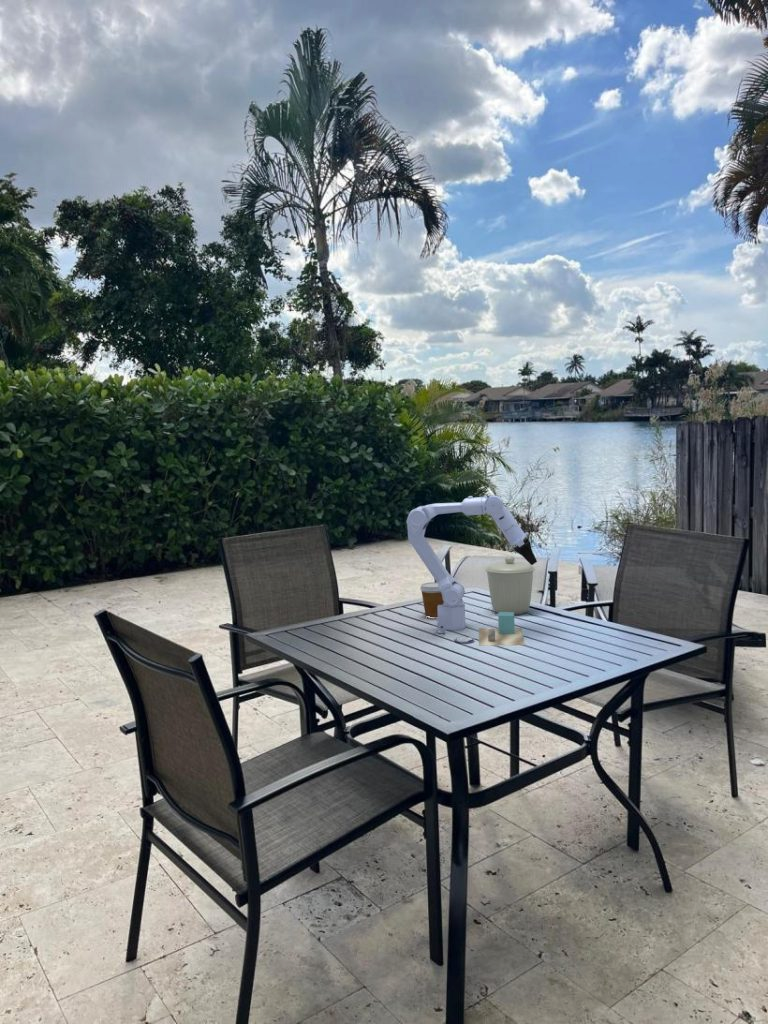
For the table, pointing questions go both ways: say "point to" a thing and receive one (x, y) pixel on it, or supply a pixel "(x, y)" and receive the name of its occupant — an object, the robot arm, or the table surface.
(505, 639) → the base board
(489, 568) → the canister
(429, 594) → the disposable coffee cup
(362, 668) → the table surface
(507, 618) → the housing
